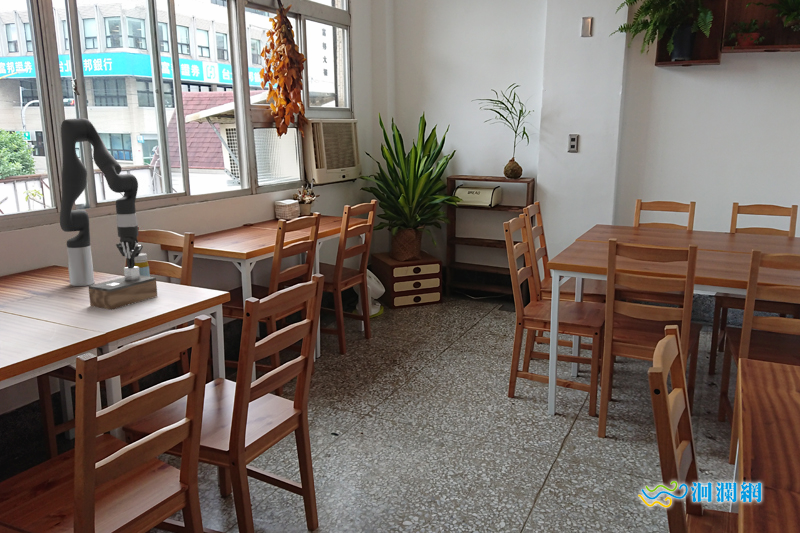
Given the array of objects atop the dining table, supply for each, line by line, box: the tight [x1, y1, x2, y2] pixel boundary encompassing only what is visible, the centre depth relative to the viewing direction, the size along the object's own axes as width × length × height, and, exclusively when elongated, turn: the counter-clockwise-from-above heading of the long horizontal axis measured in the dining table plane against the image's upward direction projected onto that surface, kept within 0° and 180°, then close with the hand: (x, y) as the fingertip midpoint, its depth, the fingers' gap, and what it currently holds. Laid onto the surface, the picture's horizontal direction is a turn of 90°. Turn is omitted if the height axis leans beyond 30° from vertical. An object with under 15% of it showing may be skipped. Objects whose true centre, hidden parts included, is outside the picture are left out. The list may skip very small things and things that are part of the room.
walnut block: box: [87, 275, 158, 311], centre depth 239 cm, size 12×22×8 cm, turn 154°
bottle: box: [134, 252, 151, 277], centre depth 259 cm, size 7×7×15 cm
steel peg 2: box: [123, 266, 140, 281], centre depth 242 cm, size 4×4×7 cm
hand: (131, 267), depth 241 cm, fingers closed
